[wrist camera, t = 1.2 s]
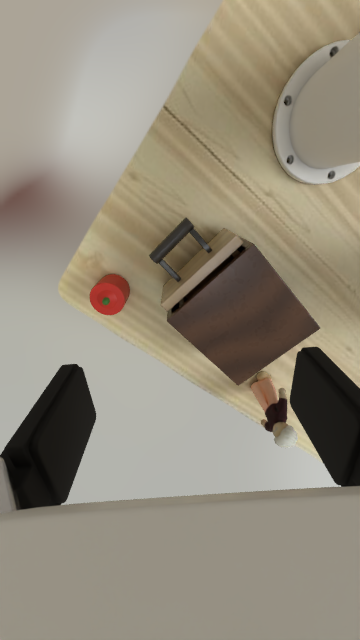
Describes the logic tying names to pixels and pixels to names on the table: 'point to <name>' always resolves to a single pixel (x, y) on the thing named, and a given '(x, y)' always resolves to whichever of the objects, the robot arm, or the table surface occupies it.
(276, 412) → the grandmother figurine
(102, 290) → the pepper
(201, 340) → the cabinet
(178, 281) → the drawer
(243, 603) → the robot arm
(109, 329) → the table surface
